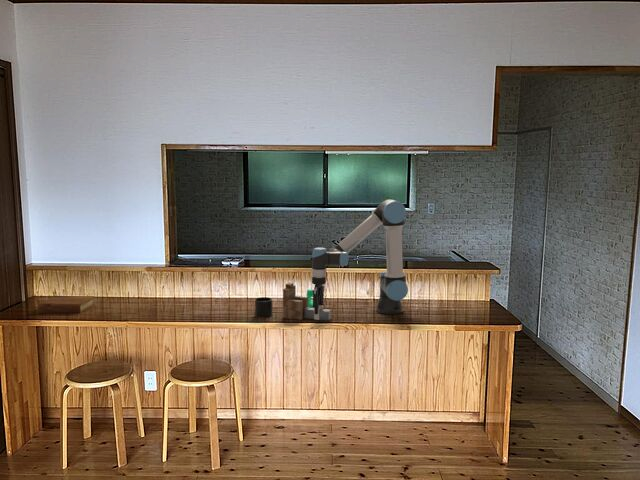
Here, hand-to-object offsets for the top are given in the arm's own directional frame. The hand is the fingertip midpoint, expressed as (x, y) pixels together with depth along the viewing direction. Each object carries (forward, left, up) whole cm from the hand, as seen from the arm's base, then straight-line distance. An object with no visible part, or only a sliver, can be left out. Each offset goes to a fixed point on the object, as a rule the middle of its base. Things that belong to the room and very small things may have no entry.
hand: (318, 318), depth 276 cm
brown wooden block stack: (+13, 0, 0) cm, 13 cm away
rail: (+3, 0, 0) cm, 3 cm away
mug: (+31, +3, 0) cm, 31 cm away
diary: (+143, +30, -1) cm, 146 cm away
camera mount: (+10, -23, -1) cm, 25 cm away
